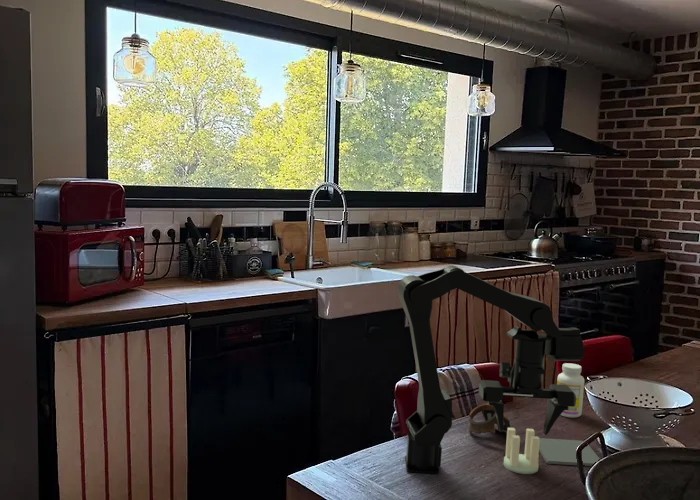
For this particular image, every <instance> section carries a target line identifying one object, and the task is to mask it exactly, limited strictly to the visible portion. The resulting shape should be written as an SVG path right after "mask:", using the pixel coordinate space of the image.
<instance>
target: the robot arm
mask: <svg viewBox="0 0 700 500" xmlns="http://www.w3.org/2000/svg"><path fill="white" fill-rule="evenodd" d="M455 289H458V290H460V291H462V292H464V293H467V294H469V295H471V296H473V297H476V298H477V299H479V300H482V301H483V302H486V303H488V304H491V305H492V306H495V307H497V308H498V309H500V310H503V311H504V312H506V313H507V314H508V315H510V316H511V317H513V318H514V319H515V320H517V321H518V322H519V323H521V324H523V325H524V326H526V327H527V328H529V329H522V328H521V327H520V326H519V325H514V327H512V328H511V329H510V330H509V331H507V332H506V335H507V336H508V337H509V338H511V339H512V340H516V342H515V354H514V359H513V364H512V366H511V362H509V361H508V362H506V361H501V362H499V370H498V371H499V377H500V378H507V382H508V383H509V385H510V386H503V385H501V383H500V381H499V380H491V379H489V380H488V379H487V380H486V379H482V380H480V382H479V383H478V394H479V396H480V398H481V399H482V401H485V402H486V403H488V404H489V405H492V406H493V408H494V411H495V414H496V418H497V422H498V425H497V428H498V427H499V430H498V431H499V432H500V433H503V431H504V430H503V418H504V413H505V411H504V408H505V404H504V402H503V401H502V400H503V399H504V397H513V398H515V397H516V398H517V397H518V398H530V399H531V398H533V399H534V398H535V399H546V411H545V418H544V424H543V434H544V435H545V436H547V435H548V433H550V431H551V429H552V427H553V426H554V424H555V422H556V421H557V420H558V418H559V417H560V416H562V415H561V413H562V412H563V411H564V410H568V409H569V407H568V406H571V407H574V406H575V405H576V395H575V393H574V392H573V391H572V390H571V389H570V388H569V387H568V386H567V385H557V383H556V384H554V383H550V384H549V387H548V388H542V386H543V375H545V370H546V369H545V368H544V364H545V355H546V356H548V358H549V360H550V361H555V362H556V361H557V362H559V361H560V362H580V361H582V359H583V357H584V353H585V347H584V341H583V338H582V336H581V329H580V328H577V327H566V328H565V327H558V326H557V324H556V323H555V321H554V319H553V312H552V308H551V307H550V306H549V305H548V304H547V303H545V302H542V301H541V300H539V299H537V298H535V297H532V296H529V295H524V294H519V293H515V292H510V291H507V290H505V289H502V288H501V287H498V286H496V285H494V284H493V283H492V284H491V283H489V282H487V281H485V280H483V279H481V278H479V277H476V276H474V275H473V274H470V273H469V272H466V271H464V270H463V269H462V268H460V267H458V266H457V265H447V266H446V267H444V268H441V269H438V270H433V271H430V272H426V273H425V272H424V273H423V274H420V275H414V274H413V275H412V274H410V275H406V276H404V277H402V278H401V279H400V281H399V282H398V284H397V291H396V293H397V295H398V297H399V301H400V304H401V307H402V308H403V311H404V313H405V316H406V318H407V322H408V325H409V332H410V337H411V343H412V348H413V349H412V350H413V355H414V360H415V369H416V374H417V380H418V393H417V399H416V400H417V402H416V403H417V405H416V407H417V408H416V411H414V412H413V413H412V414H411V415H410V416H409V417H408V418H406V420H405V424H406V426H407V429H408V430H409V432H410V433H409V432H408V433H407V439H406V455H405V456H404V461H405V462H404V463H405V469H406V472H408V473H418V474H419V473H421V474H437V475H438V474H439V473H440V470H439V468H440V467H442V465H441V464H442V453H443V451H442V450H443V448H442V441H443V438H444V437H445V435H446V433H448V432H449V431H450V429H452V427H453V419H456V417H455V414H454V412H453V399H452V397H451V396H450V395H449V393H447V391H446V390H445V388H443V389H441V385H440V379H439V373H438V367H437V360H436V359H437V358H436V354H435V347H434V340H433V335H432V328H431V318H432V311H433V301H434V300H436V299H439V298H441V297H443V296H444V295H446V294H447V293H450V292H451V291H453V290H455ZM540 331H541V332H543V333H538V332H540ZM511 385H512V386H511Z"/></svg>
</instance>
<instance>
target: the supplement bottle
mask: <svg viewBox="0 0 700 500" xmlns="http://www.w3.org/2000/svg"><path fill="white" fill-rule="evenodd" d="M561 369H562V372H561V373H559V374H558V375H557V380H556V384H557V385H567V386H568V387H569V388H570V389H571V390H572V391H573V392H574V393H575V395H576V405H575V406H574V407H571V406H568V407H569V409H568V410H564V411H563V412H562V413H561V415H560V416H562V417H566V418H578V417H580V416H582V414H583V413H582V412H583V402H584V393H585V392H584V391H585V378H584V376H582V375H581V373H582V370H583V369H582V366H581V365H579V364H578V363H577V364H576V363H570V362H569V363H567V362H564V363H563V364H562V367H561Z"/></svg>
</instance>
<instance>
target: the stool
mask: <svg viewBox="0 0 700 500" xmlns="http://www.w3.org/2000/svg"><path fill="white" fill-rule="evenodd" d="M535 433H536V431H535V430H534V429H533V428H526V429H525V441H524V453H523V454H522V453H520V448H521V447H520V445H521V436H520V435H518V434H517V435H516V428H515V427H511V428H507V432H506V443H505V456H504V457H503V466H504V468H506V469H507V470H508V471H511V472H513V473H517V474H521V475H533V474H536V473H537V472H538V471H539V463H540V462H539V455H540V454H539V453H540V451H539V445H540V439H539V438H540V437H539V436H536V435H535Z"/></svg>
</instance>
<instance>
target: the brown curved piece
mask: <svg viewBox="0 0 700 500" xmlns="http://www.w3.org/2000/svg"><path fill="white" fill-rule="evenodd" d="M479 413H481V415H482V417H483V418H484V421H480V422H478V421H475V420H473V419H474V417H476V415H478V414H479ZM468 415H469V417H470V418H469V420H468V431H469V434H470V435H471V434H473V433H474V434H478V435H479V434H486V433H493V434H496V427H495V425H496V426H497V430H498V431H500V430H499V427H498V422H497V418H496V414H495V411H494V408H493V406H492V405H489V404H488V402H486V403H482V404H480V405H478V406H476V407H474V408H473V409H472V410H471V411H470V412H469V414H468ZM507 428H512V427H511V422H510V420H509V418H508V416H507V415H506V413H505V412H504V418H503V431H504V432H506V433H507Z"/></svg>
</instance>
